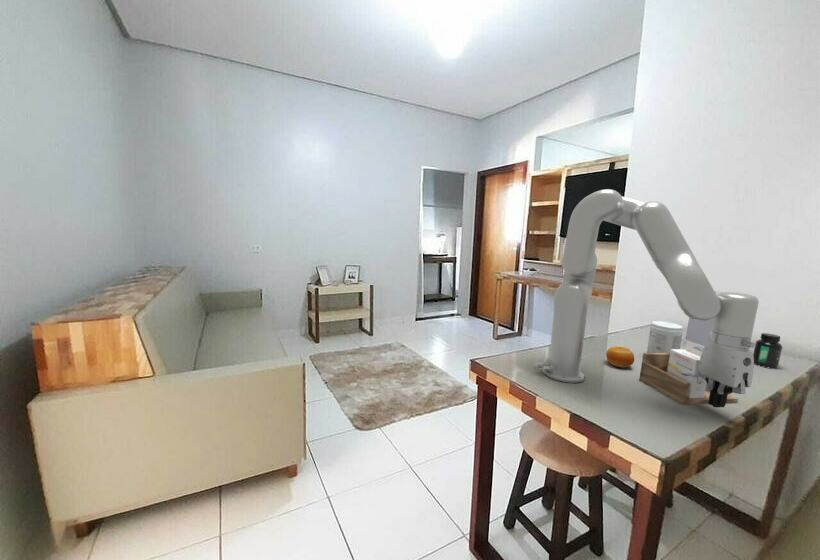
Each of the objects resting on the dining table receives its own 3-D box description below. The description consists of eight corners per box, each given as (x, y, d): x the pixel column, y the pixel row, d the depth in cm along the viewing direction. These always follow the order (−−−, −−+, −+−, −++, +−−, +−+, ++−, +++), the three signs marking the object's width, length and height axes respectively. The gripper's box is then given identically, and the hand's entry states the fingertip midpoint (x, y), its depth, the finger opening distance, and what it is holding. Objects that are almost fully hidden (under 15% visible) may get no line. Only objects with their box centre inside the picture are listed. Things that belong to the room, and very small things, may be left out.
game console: (711, 365, 122) (721, 313, 119) (683, 343, 147) (691, 300, 144) (731, 368, 120) (742, 315, 117) (700, 345, 145) (708, 301, 142)
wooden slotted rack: (682, 404, 92) (688, 366, 90) (639, 379, 107) (644, 347, 105) (737, 402, 94) (745, 366, 92) (688, 379, 109) (693, 347, 107)
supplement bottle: (763, 368, 121) (770, 337, 119) (746, 361, 128) (752, 331, 126) (783, 369, 121) (790, 338, 119) (765, 362, 127) (771, 332, 126)
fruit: (611, 349, 125) (617, 336, 119) (634, 363, 119) (642, 351, 114) (598, 361, 122) (604, 349, 116) (622, 377, 116) (629, 365, 111)
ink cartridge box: (663, 384, 101) (671, 339, 99) (678, 384, 102) (686, 339, 99) (689, 398, 93) (698, 349, 90) (704, 398, 93) (714, 349, 91)
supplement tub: (669, 358, 127) (675, 322, 125) (682, 368, 118) (689, 329, 116) (641, 355, 129) (646, 319, 127) (651, 364, 120) (658, 326, 118)
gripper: (776, 350, 78) (761, 421, 80) (712, 331, 92) (701, 391, 95) (749, 350, 77) (734, 422, 80) (688, 331, 91) (678, 392, 94)
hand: (716, 405), depth 87 cm, fingers closed
